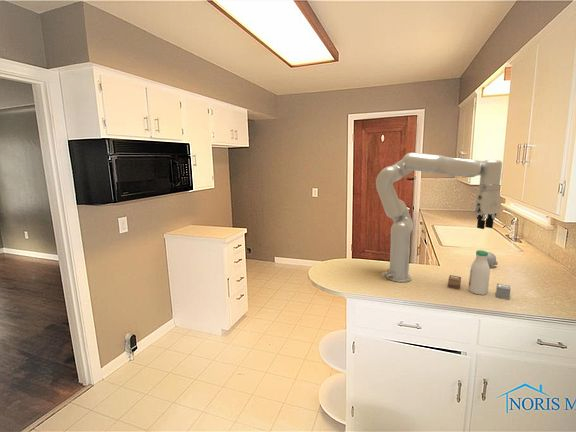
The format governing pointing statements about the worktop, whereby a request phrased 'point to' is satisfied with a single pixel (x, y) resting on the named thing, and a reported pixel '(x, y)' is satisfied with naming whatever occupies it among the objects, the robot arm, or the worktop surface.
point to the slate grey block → (503, 291)
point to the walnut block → (454, 282)
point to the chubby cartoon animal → (491, 260)
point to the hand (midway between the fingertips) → (484, 227)
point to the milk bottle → (479, 274)
